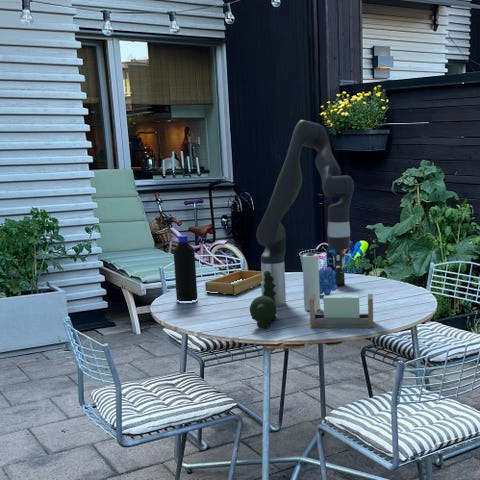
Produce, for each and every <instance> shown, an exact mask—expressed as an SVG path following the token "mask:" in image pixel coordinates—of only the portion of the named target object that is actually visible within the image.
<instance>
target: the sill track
mask: <svg viewBox="0 0 480 480" xmlns="http://www.w3.org/2000/svg"><path fill="white" fill-rule="evenodd" d="M367 307H368V309H367V313H360V318H324V313H318V312H317V311H318V310H317V308H316V294H311V297H310V311H309V319H310V320H309V321H310V328H311V329H374V297H373V293H367Z"/></svg>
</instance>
